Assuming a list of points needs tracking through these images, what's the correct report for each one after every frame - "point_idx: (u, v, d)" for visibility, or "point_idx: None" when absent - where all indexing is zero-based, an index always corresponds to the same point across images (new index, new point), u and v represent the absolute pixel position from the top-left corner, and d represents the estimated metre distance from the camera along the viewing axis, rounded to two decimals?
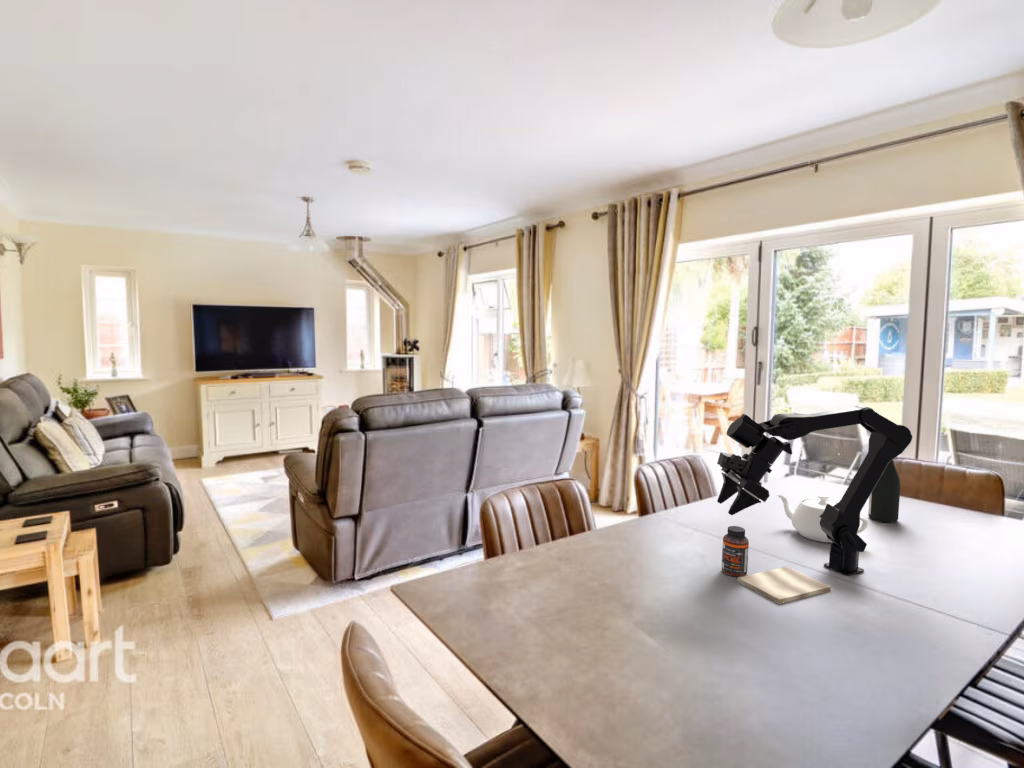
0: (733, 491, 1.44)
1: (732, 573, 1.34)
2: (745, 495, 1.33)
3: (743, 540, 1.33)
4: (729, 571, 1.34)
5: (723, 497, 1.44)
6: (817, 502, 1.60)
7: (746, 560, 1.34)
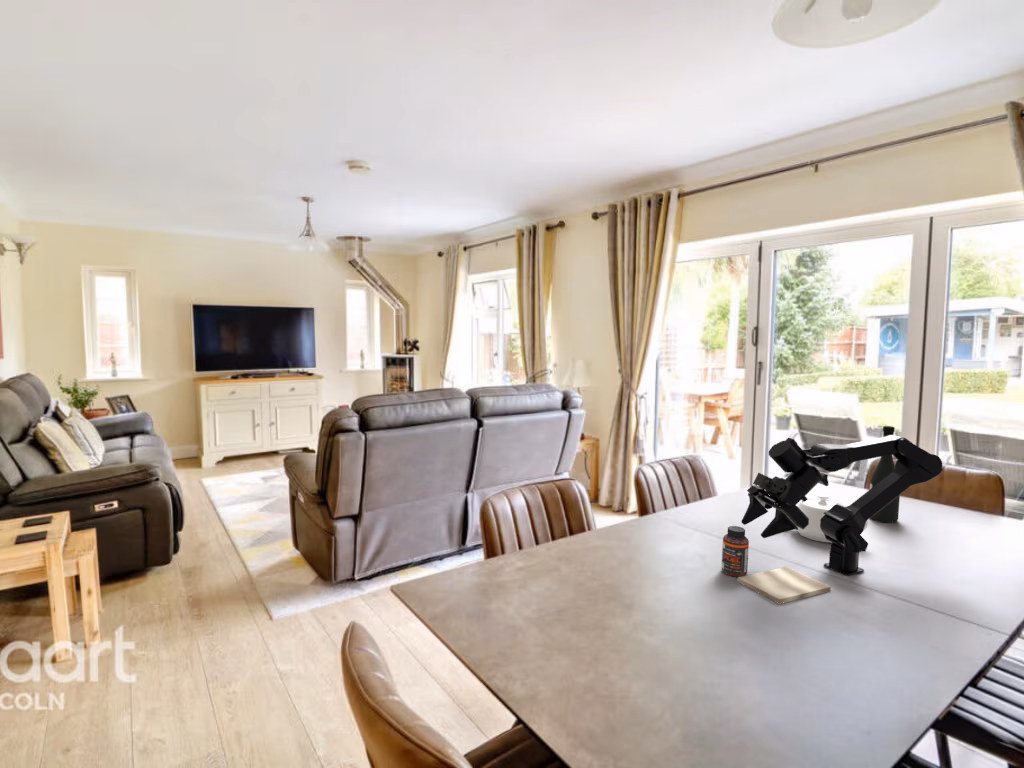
0: (758, 514, 1.41)
1: (732, 573, 1.34)
2: (782, 520, 1.30)
3: (743, 540, 1.33)
4: (729, 571, 1.34)
5: (748, 518, 1.40)
6: (817, 502, 1.60)
7: (746, 560, 1.34)
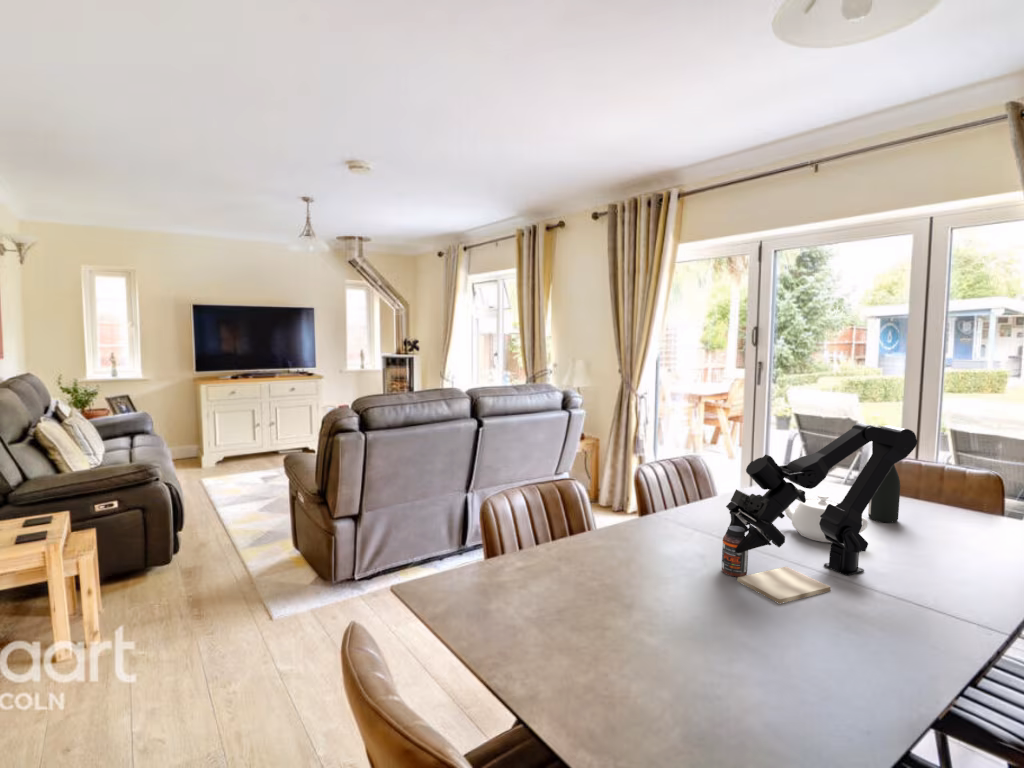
0: None
1: (732, 573, 1.34)
2: (755, 535, 1.31)
3: None
4: (729, 571, 1.34)
5: None
6: (817, 502, 1.60)
7: (746, 560, 1.34)
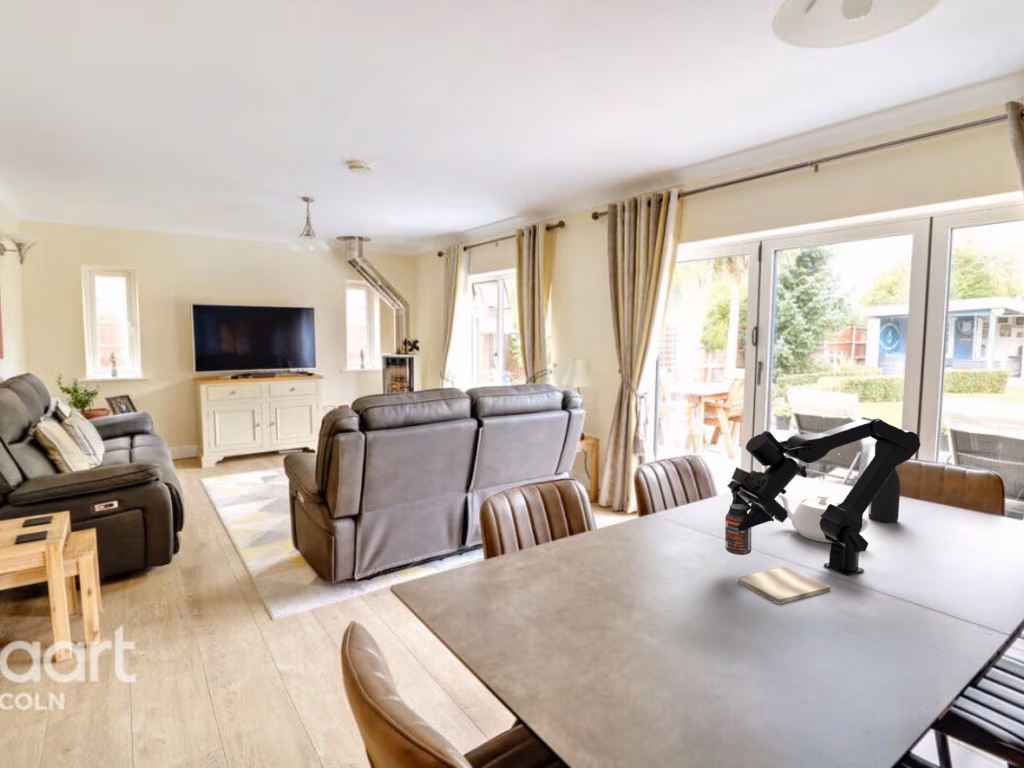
0: None
1: (736, 551, 1.33)
2: (758, 512, 1.30)
3: None
4: (733, 549, 1.33)
5: None
6: (817, 502, 1.60)
7: (749, 538, 1.33)
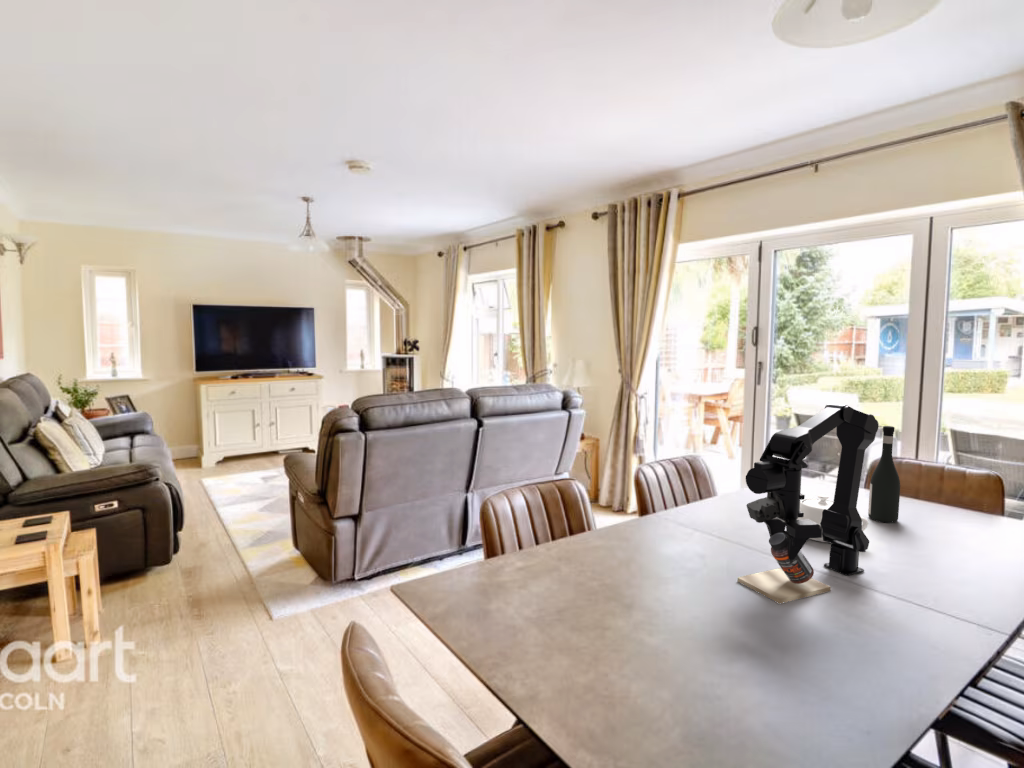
0: (781, 529, 1.31)
1: (800, 581, 1.26)
2: None
3: None
4: (797, 580, 1.26)
5: None
6: (817, 502, 1.60)
7: (805, 562, 1.26)
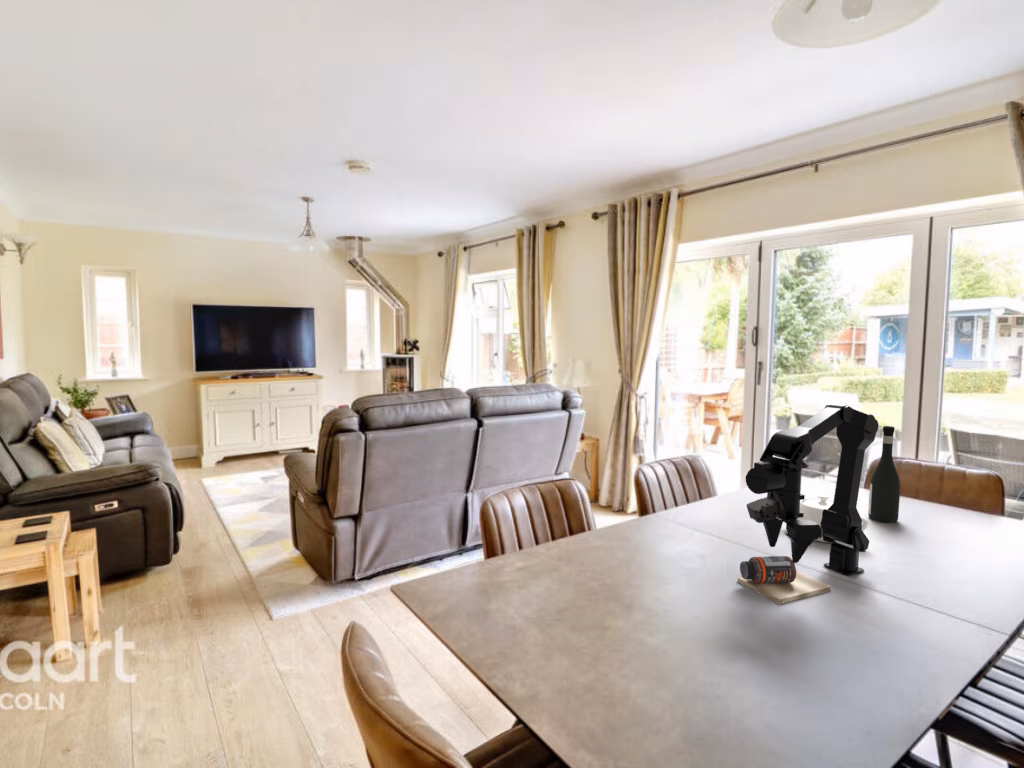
0: (778, 527, 1.32)
1: (793, 577, 1.26)
2: None
3: (756, 566, 1.27)
4: (791, 579, 1.27)
5: (773, 539, 1.32)
6: (817, 502, 1.60)
7: (778, 563, 1.27)
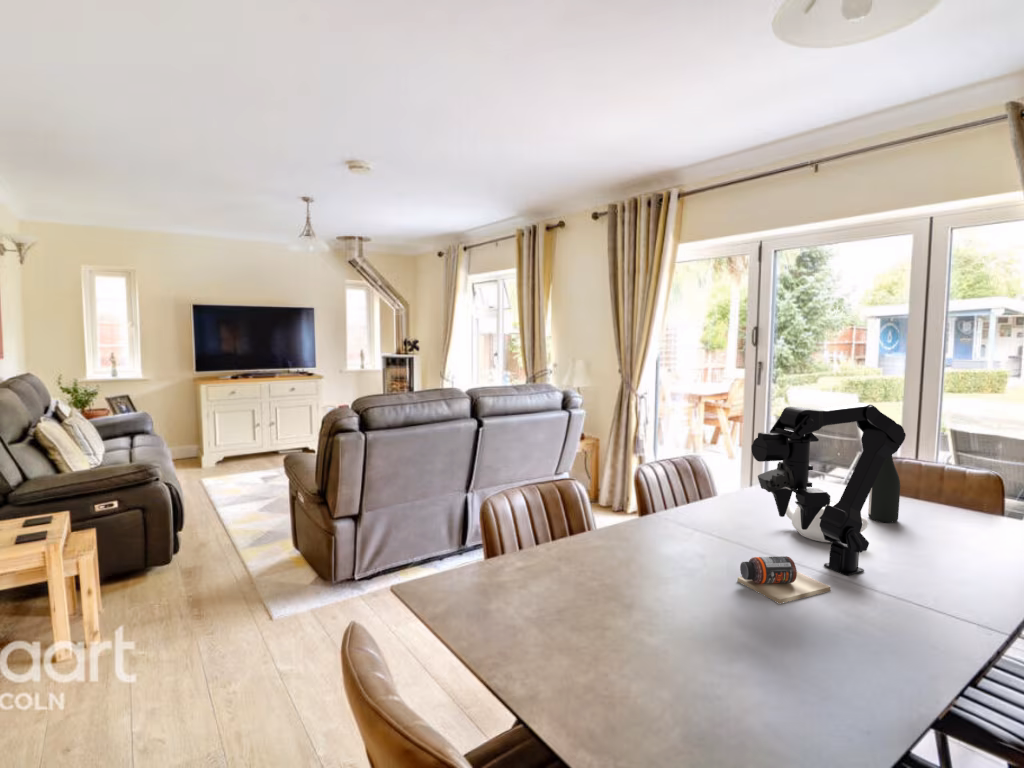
0: (787, 498, 1.39)
1: (793, 578, 1.26)
2: None
3: (757, 568, 1.26)
4: (791, 580, 1.27)
5: (782, 509, 1.39)
6: None
7: (778, 564, 1.26)
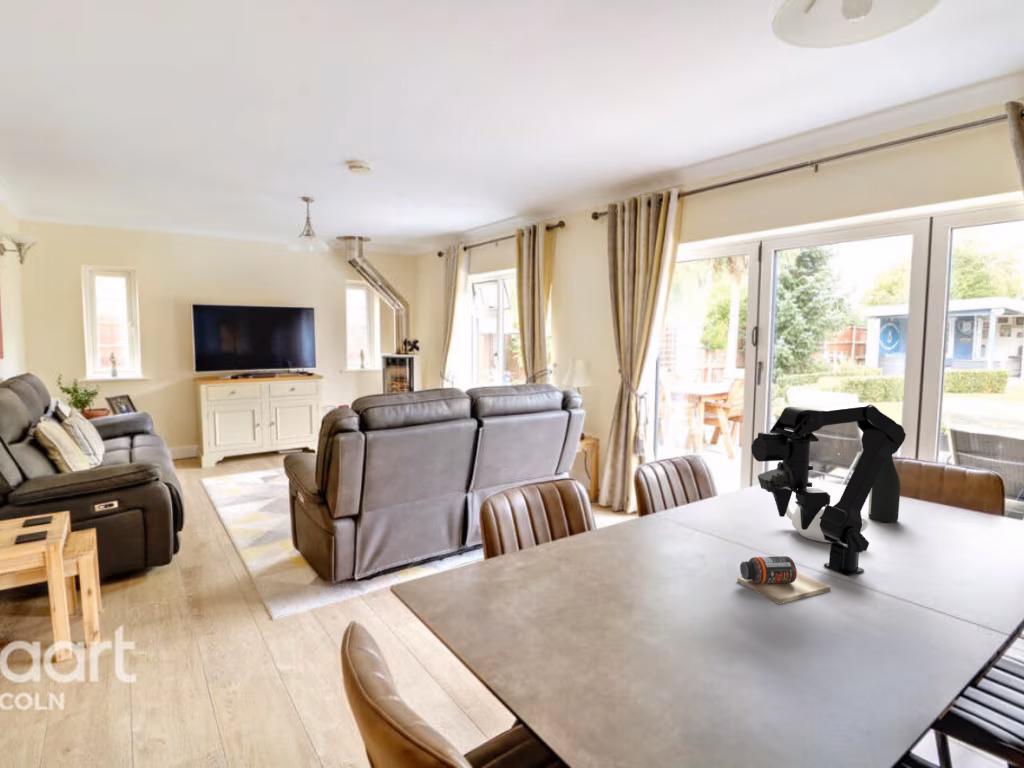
0: (787, 498, 1.39)
1: (793, 578, 1.26)
2: None
3: (757, 567, 1.26)
4: (791, 580, 1.27)
5: (782, 509, 1.39)
6: None
7: (778, 564, 1.27)
